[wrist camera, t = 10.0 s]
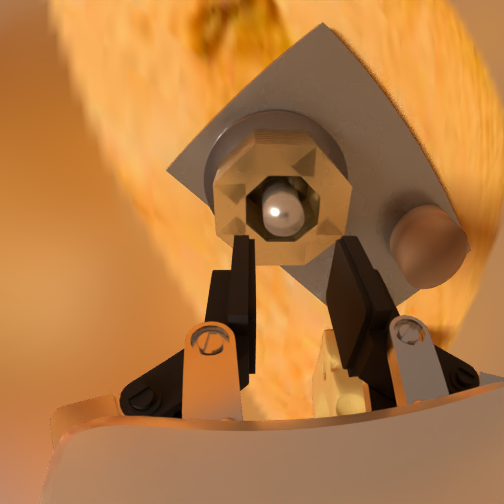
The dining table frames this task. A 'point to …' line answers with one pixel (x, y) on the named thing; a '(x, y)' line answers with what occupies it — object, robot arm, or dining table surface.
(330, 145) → the hub
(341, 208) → the collar
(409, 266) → the brown rounded dome
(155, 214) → the dining table surface
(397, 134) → the plate
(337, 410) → the cheese
